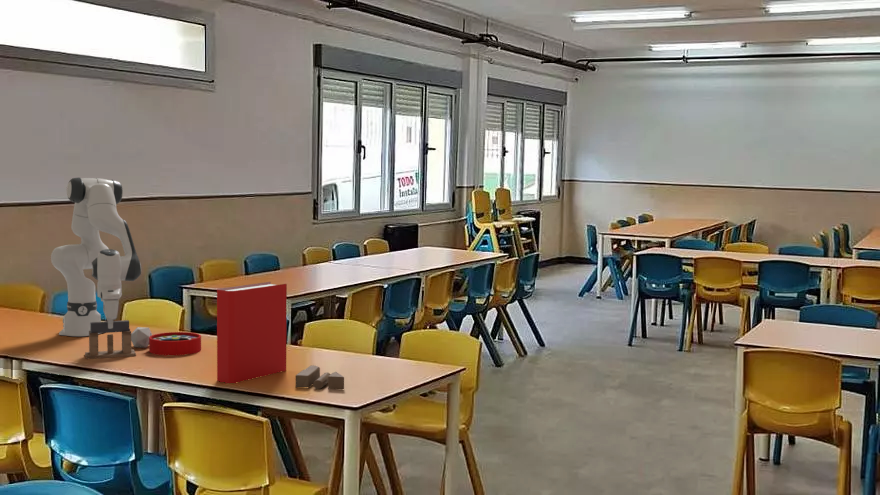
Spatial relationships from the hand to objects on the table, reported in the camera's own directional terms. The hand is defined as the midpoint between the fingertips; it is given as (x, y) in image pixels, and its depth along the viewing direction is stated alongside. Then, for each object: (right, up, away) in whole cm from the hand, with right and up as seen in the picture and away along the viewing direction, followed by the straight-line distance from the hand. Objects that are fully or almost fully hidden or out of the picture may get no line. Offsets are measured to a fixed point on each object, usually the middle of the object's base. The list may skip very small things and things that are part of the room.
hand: (110, 327), depth 362 cm
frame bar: (0, -2, 0) cm, 2 cm away
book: (+60, -15, -28) cm, 68 cm away
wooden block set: (+88, -17, -38) cm, 97 cm away
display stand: (0, -11, +1) cm, 11 cm away
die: (+6, -10, +19) cm, 22 cm away
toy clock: (+22, -11, +13) cm, 27 cm away
